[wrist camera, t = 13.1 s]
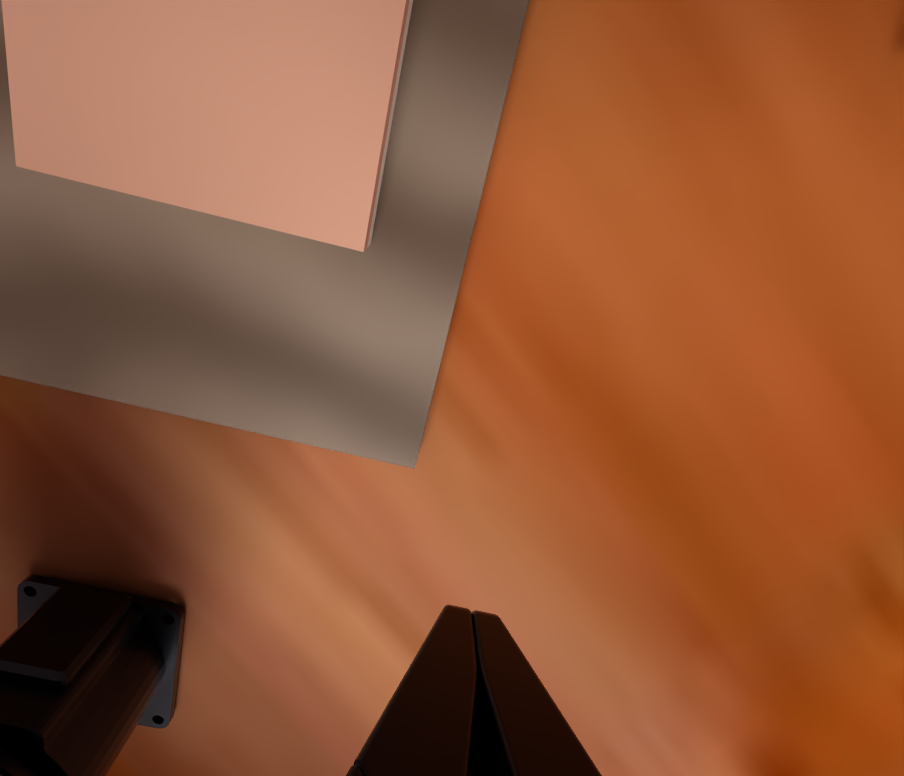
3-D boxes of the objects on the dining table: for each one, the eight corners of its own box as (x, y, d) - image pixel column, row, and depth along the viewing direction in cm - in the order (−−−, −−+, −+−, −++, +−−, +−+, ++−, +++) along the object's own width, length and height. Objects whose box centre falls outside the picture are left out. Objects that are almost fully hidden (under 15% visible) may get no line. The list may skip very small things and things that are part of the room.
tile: (411, -33, 14) (416, -21, 15) (-12, -152, 13) (26, -130, 14) (363, 252, 16) (370, 244, 18) (15, 166, 16) (45, 163, 17)
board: (416, 456, 21) (414, 468, 20) (-21, 357, 20) (-45, 365, 19) (558, -124, 15) (564, -145, 14) (-38, -298, 14) (-74, -333, 14)
